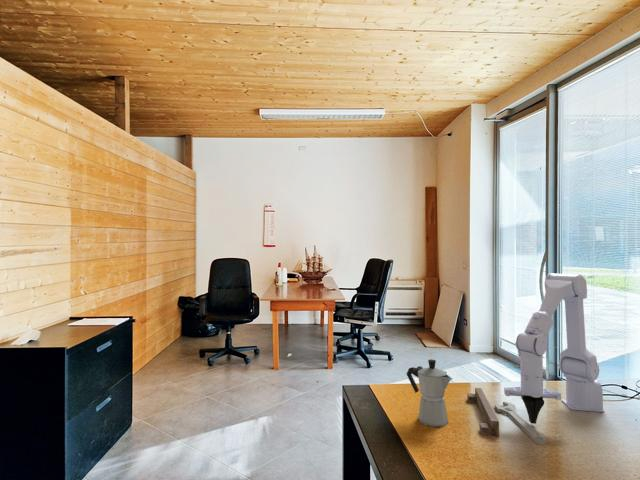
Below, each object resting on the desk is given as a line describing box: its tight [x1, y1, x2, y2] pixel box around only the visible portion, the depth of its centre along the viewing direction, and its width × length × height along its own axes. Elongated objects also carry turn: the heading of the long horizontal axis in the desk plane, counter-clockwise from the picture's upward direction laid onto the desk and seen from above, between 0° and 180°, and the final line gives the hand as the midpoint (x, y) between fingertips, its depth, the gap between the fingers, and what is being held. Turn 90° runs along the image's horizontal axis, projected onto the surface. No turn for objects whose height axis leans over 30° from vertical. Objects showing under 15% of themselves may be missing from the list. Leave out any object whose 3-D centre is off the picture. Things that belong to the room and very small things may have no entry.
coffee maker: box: [406, 358, 453, 428], centre depth 117 cm, size 15×9×18 cm, turn 47°
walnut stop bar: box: [466, 387, 500, 437], centre depth 120 cm, size 4×26×4 cm, turn 167°
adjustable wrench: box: [494, 401, 546, 445], centre depth 115 cm, size 25×6×2 cm, turn 174°
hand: (532, 422), depth 113 cm, fingers closed
